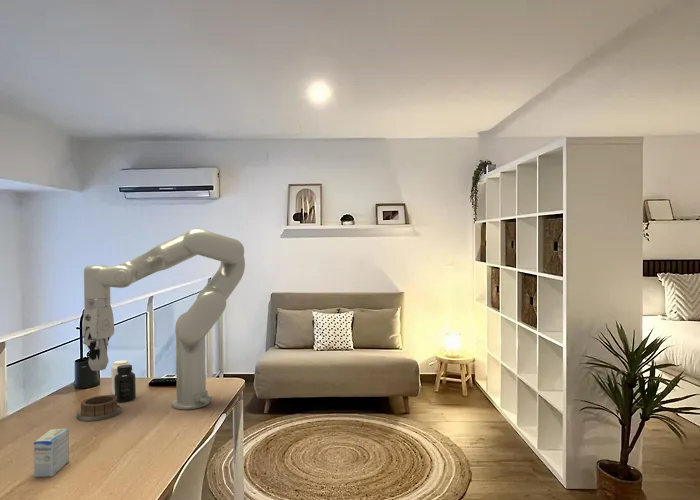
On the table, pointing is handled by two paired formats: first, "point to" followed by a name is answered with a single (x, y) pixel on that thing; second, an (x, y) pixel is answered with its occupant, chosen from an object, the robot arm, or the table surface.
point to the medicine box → (51, 452)
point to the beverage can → (114, 371)
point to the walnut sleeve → (99, 408)
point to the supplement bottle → (125, 384)
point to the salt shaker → (103, 359)
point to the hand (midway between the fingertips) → (98, 359)
